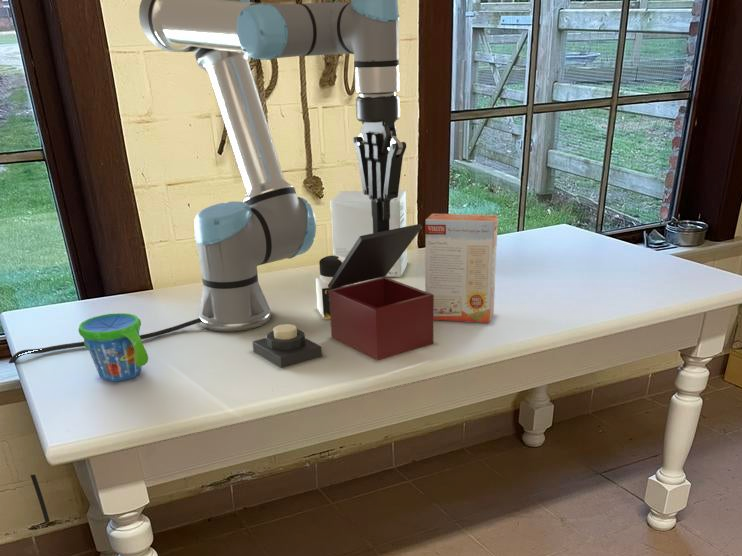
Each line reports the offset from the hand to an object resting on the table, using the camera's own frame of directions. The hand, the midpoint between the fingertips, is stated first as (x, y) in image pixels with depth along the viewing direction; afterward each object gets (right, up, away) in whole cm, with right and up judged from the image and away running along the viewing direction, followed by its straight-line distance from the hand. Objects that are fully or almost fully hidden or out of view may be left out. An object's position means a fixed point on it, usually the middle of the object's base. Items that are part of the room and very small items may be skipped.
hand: (381, 237), depth 147 cm
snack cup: (-49, -26, 0) cm, 55 cm away
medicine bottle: (-10, -7, +27) cm, 30 cm away
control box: (-18, -21, +7) cm, 28 cm away
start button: (-18, -18, +5) cm, 26 cm away
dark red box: (0, -17, +12) cm, 20 cm away
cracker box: (+17, -10, +22) cm, 30 cm away
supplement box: (-3, +11, +55) cm, 56 cm away
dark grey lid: (-1, -3, +4) cm, 5 cm away
